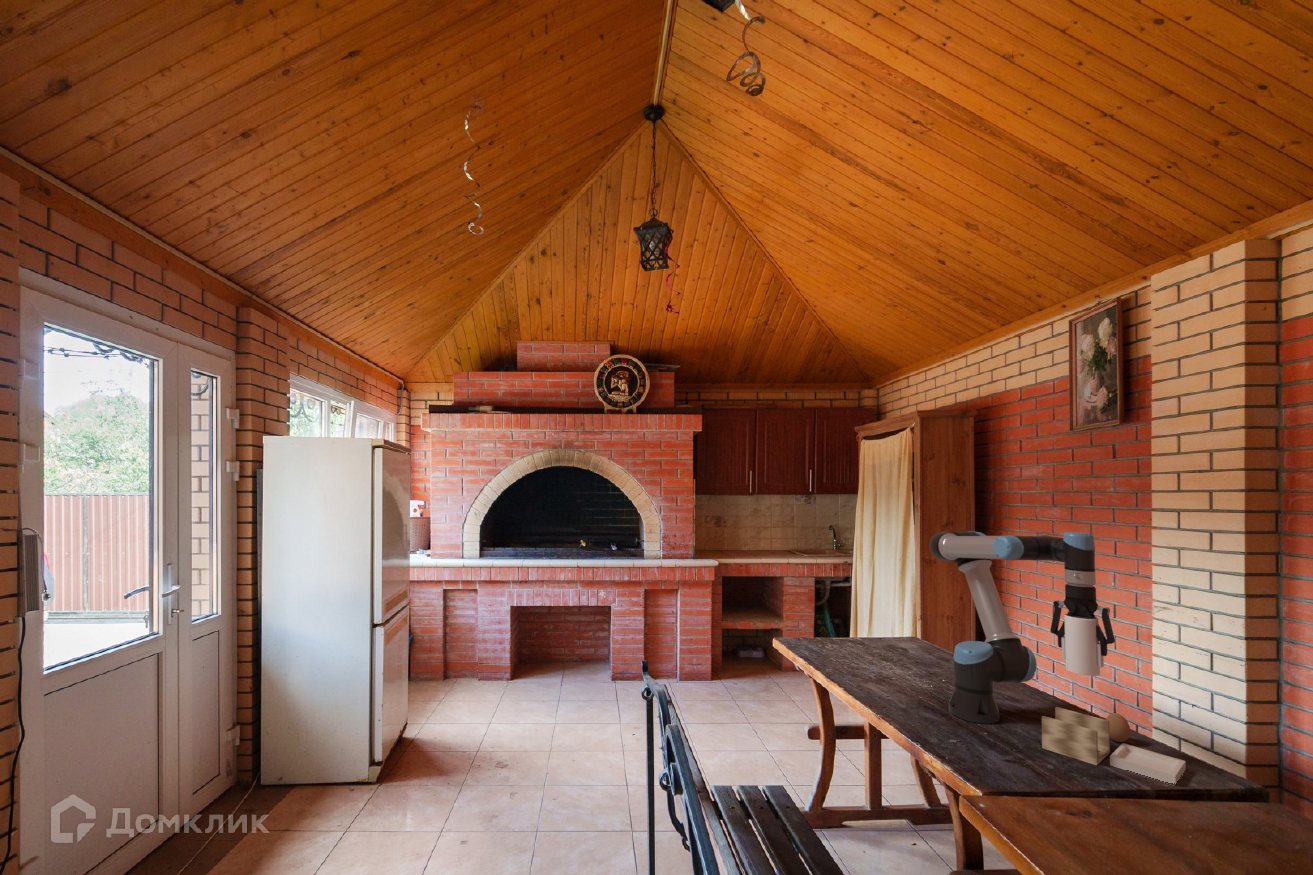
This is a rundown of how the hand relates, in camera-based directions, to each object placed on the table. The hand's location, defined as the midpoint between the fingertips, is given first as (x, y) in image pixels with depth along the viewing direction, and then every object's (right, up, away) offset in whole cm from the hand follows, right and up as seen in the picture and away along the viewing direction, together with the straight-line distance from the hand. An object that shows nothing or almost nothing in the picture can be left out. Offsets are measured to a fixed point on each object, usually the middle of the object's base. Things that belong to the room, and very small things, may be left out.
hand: (1082, 662), depth 176 cm
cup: (0, -3, 0) cm, 3 cm away
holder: (-2, -26, 0) cm, 26 cm away
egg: (+16, -27, +7) cm, 32 cm away
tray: (+11, -25, -10) cm, 29 cm away
